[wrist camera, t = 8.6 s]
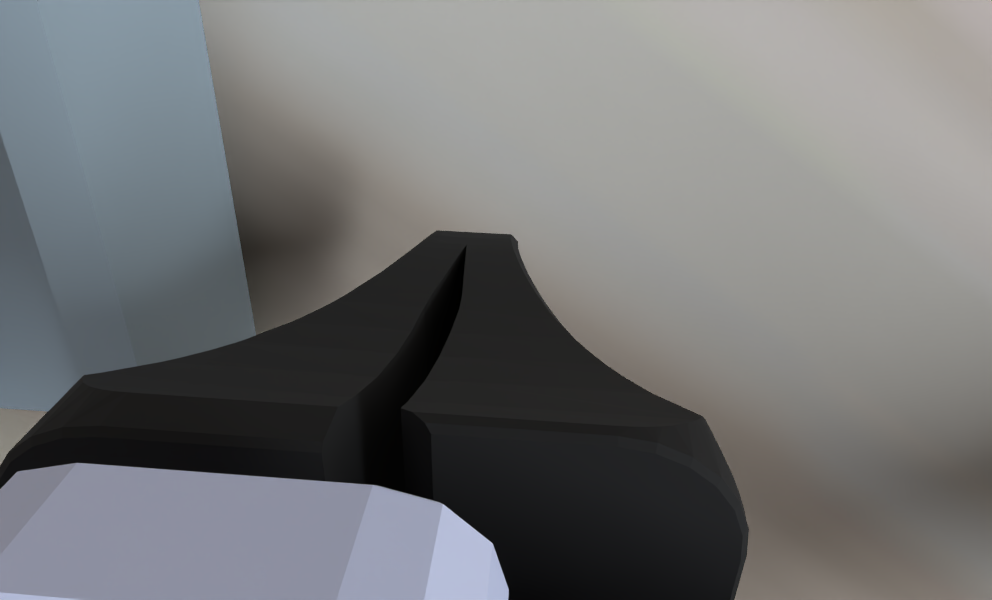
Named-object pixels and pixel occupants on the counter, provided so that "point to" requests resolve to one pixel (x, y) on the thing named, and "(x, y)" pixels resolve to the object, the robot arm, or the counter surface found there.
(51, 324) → the tray
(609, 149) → the counter surface
